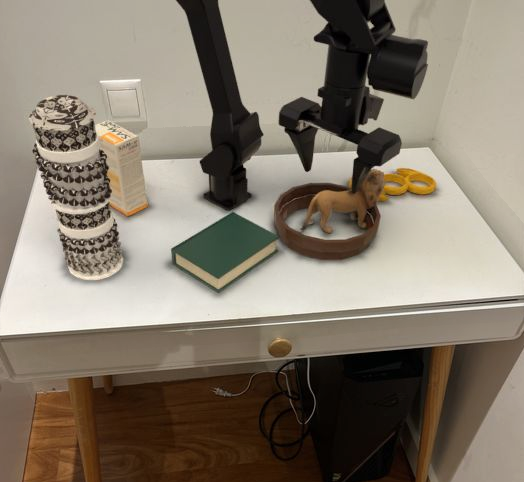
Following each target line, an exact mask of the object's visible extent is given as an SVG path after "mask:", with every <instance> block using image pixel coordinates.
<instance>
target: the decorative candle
mask: <svg viewBox="0 0 524 482" xmlns="http://www.w3.org/2000/svg"><path fill="white" fill-rule="evenodd" d="M96 114H97V112H96V111H95V109H94V107H92V106H90V105H88V104H86V102H85V101H84V100H83V99H81V98H79V97H77V96H74V95H69V94H57V95H50V96H48V97H45V98H43V99H42V100H40V101H39V102H38V103H37V104H36V107H35V109H34V110H33V111H31V112H30V114H29V117H28V120H29V123H30V124H31V125H32V127H33V131H34V135H35V143H34V145H33V147H34V148H33V149H32V154H33V155H34V157H35V164H37V169H38V171H39V172H40V179H42V182H43V188H45V193H46V195H48V198H47V199H49V202H50V205H51V207H52V208H53V209H55V211H56V212H55V213H56V221H57V225H58V228H57V230H56V231H57V233H58V234H59V241H60V242H61V246H62V248H61V249H62V252H63V255H64V260H65V261H66V265H67V267H68V270H69V273H70V274H71V275H73V276H74V277H76V278H78V279H81V280H85V281H99V280H103V279H107V278H109V277H112V276H113V275H115V274H116V273H118V271H119V270H121V268H122V267H123V262H124V257H123V255H122V254H123V250H122V249H121V245H122V242H121V241H119V240H120V237H119V236H120V233H119V231H118V223H117V222H116V218H115V217H114V212H113V210H112V209H111V205H110V203H109V201H110V198H111V193H112V189H110V186H109V183H110V179H109V178H108V176H107V175H106V174H107V173H108V171H107V170H109V166H108V165H107V164H106V159H107V155H106V154H105V153H104V151H103V150H100V149H99V148H100V141H99V136H98V134H97V132H96V131H95V125H96V123H95V121H94V119H95V117H96ZM100 157H101V159H100Z"/></svg>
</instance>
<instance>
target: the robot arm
mask: <svg viewBox="0 0 524 482" xmlns="http://www.w3.org/2000/svg"><path fill="white" fill-rule="evenodd" d="M175 1H176V2H177V4H178V5H179V6H180V8H182V10H183V11H184V13H185V16H186V19H187V24H188V26H189V30H190V34H191V38H192V41H193V44H194V49H195V53H196V55H197V59H198V63H199V67H200V70H201V75H202V77H203V82H204V85H205V89H206V92H207V96H208V99H209V104H210V107H211V111H212V116H211V124H210V130H209V131H210V132H209V136H210V143H211V151H210V152H209V153H207V154H206V155H205V156H204V157H202V158H201V159H200V160H199V166H200V168H201V171H202V173H203V174H206V175H208V191H206V192H204V193H203V194H202V197H203V198H204V199H205V200H207V201H209V202H211V203H213V204H215V205H217V206H218V207H220V208H222V209H224V210H225V211H230V210H232V209H234V208H236V207H237V206H239V205H240V204H242V203H244V202H245V201H247V200H249V199H250V198H252V196H253V195H252V193H251V192H249V191H248V181H249V180H248V178H247V168H246V167H244V164H245V163H247V162H248V161H250V160H251V159H252V156H254V155H255V154H256V153H257V152H258V151H259V150H260V148H261V147H262V138H263V137H264V132H263V130H262V128H261V124H260V116H259V113H258V112H257V111H254V112H250V111H249V110H248V109H247V108H246V106H244V104H243V102H242V98H241V92H240V89H239V85H238V80H237V76H236V72H235V69H234V64H233V59H232V56H231V52H230V46H229V43H228V40H227V35H226V31H225V26H224V23H223V18H222V13H221V9H220V6H219V0H175ZM309 2H310V3H311V5H312V6H313V9H315V11H316V12H317V14H318V15H319V16H320V17H322V19H324V20H325V21H326V24H325V26H324V28H323V29H322V30H320V31H319V32H318V33H317V34H315V35H314V36H313V41H314V42H315V43H319V44H323V45H328V47H327V53H326V54H327V55H326V62H325V72H324V80H323V81H324V82H323V85H322V86H320V87H319V88H317V97H319V98H320V99H321V104H320V103H319V102H316V101H313V100H311V99H308V98H306V97H304V96H300V97H298V98H295V99H293V100H292V101H290V102H288V103H286V104H284V105H282V106H281V107H280V110H279V111H278V121H277V122H278V126H280V127H282V128H284V133H285V134H287V135H288V138H289V139H290V141H291V143H292V145H293V147H294V149H295V151H296V153H297V156H298V157H299V160H300V162H301V165H302V167H303V170H304V172H305V173H309V172H310V171H311V170H312V167H313V162H314V151H315V143H316V136H317V133H318V131H319V130H320V131H322V132H325V133H328V134H330V135H332V136H335V137H338V138H340V139H342V140H345V141H347V142H349V143H352V144H355V145H357V146H356V155H357V157H355V158H354V159H353V162H352V163H353V164H352V174H351V178H352V185H351V188H352V193H353V194H355V193H356V192H358V190H359V188H360V187H361V185H362V183H363V182H364V180H365V178H366V177H367V175H368V174H369V172H370V170H372V169H374V167H382V166H383V165H385V164H386V163H388V162H390V161H391V160H393V159H394V158H396V157H397V156H398V155H400V153H401V149H402V145H403V142H402V138H401V136H400V135H399V134H397V133H395V132H393V131H390V130H388V129H385V128H382V127H377V128H375V129H374V130H372V131H370V132H365V131H363V130H361V129H359V126H365V125H367V124H368V122H369V119H370V120H373V121H377V120H378V118H379V115H380V113H381V109H382V106H383V105H384V101H385V99H384V97H383V98H382V97H380V96H377V95H375V94H372V93H371V90H370V89H371V88H370V87H372V90H374V91H379V92H383V93H386V94H390V95H393V96H398V97H403V98H405V99H409V100H415V99H416V98H417V96H418V95H419V93H420V91H421V88H422V86H423V83H424V81H425V77H426V75H427V70H428V66H429V63H428V51H427V50H428V46H429V41H428V40H425V39H422V38H414V39H413V38H408V37H404V36H398V35H394V33H396V27H395V24H394V21H393V18H392V17H391V14H390V12H389V9H388V7H387V4H386V0H309ZM369 23H371V25H372V27H371V28H370V26H369ZM366 82H367V85H368V86H367V85H366Z"/></svg>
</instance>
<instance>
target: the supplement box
mask: <svg viewBox="0 0 524 482" xmlns="http://www.w3.org/2000/svg"><path fill="white" fill-rule="evenodd" d="M95 131H96V132H97V134H98V136H99V141H100V148H99V149H100V150H103V151H104V153H105V154H106V155H107V159H106V164H107V165H108V166H109V170H107V171H108V173H107V174H106V175H107V176H108V178H109V179H110V183H109V186H110V189H112V193H111V198H110V201H109V203H110V207H112V208H114V209H116V211H119V212H120V213H122V214H123V215H125V216H127V217H129V216H131V215H134V214H136V213H138V212H140V211H142V210H144V209H146V208H148V207H149V206H148V205H149V203H148V197H147V190H146V183H145V174H144V167H143V160H142V153H141V145H140V137H139V135H137V134H135V133H133V132H131V131H129V130H127V129H126V128H124V127H122V126H120V125H119V124H117V123H114V122H113V121H111V120H108V119H107V120H105V121H102V122H99V123H97V124H96V123H95ZM100 159H101V157H100Z"/></svg>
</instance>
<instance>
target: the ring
mask: <svg viewBox="0 0 524 482" xmlns="http://www.w3.org/2000/svg"><path fill="white" fill-rule="evenodd" d="M351 189H352V188H351V187H349V185H343V184H338V183H332V182H307V183H303V184H300V185H295V186H292V187H290V188H289V189H287V190H286V191H284V192H282V193H281V194H280V195H279V197H278V198H277V200H276V201H275V203H274V206H273V219H274V226H275V228H276V229H277V232H278V233H277V234H278V236H279V239H280V240H281V241H282V242H283V243H284V244H285V246H286V247H287V248H289V249H290V250H293V251H295V252H296V253H298V254H299V255H302V256H305V257H309V258H313V259H317V260H322V261H323V260H324V261H325V260H329V261H330V260H331V261H332V260H345V259H348V258H351V257H355V256H357V255H358V256H359V255H360V254H361V253H362V252H363V251H364V250H366V249H367V248H368V247H369V246H370V244H371V241H372V240H374V239H375V238H376V235H377V233H378V230H379V226H380V221H381V217H382V215H381V213H380V210H379V207H378V204H377V203H376V204H375V205H374V206H373V207H371V208H369V209H367V210H366V215H365V218H364V221H363V222H365V223H366V227H364V229H365V231H364V232H363V233H362V234H359V235H356V236H352V237H348V238H345V239H341V238H340V239H324V238H319V237H316V236H311V235H306V234H304V233H301V232H300V231H298V230H296V229H295V228H293V227H291V226H289V224H288V223H286V219H287V218H288V217H289V216H291V215H292V214H294V213H295V212H297V211H301V210H304V209H308V208H309V205H310V203H311V201H312V199H313V198H314V197H315V196H316V195H317V194H318V193H319V192H321V191H324V190H330V191H334V192H342V191H348V190H351ZM346 213H348V214H349V215H351V212H346ZM356 214H357V215H358V213H357V211H356Z"/></svg>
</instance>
